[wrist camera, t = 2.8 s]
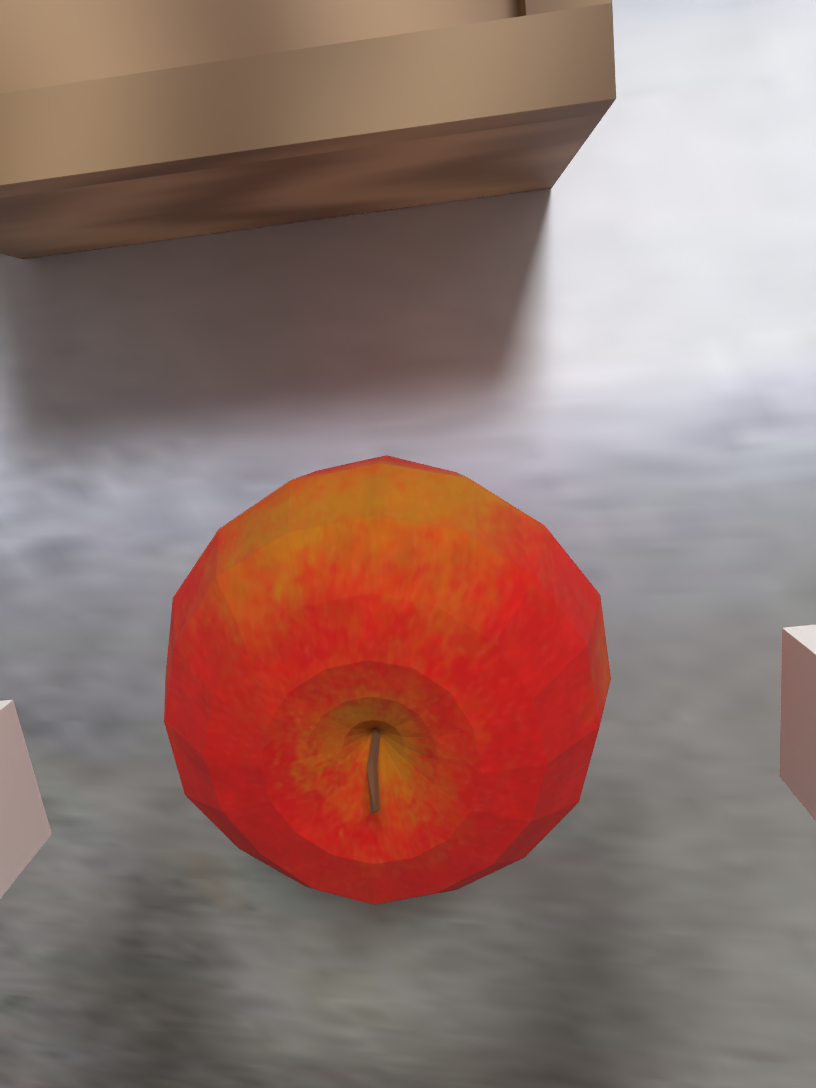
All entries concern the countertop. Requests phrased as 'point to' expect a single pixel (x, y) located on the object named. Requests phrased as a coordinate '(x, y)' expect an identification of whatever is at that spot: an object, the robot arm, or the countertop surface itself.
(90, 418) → the countertop surface
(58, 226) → the walnut tray
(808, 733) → the robot arm
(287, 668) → the apple
